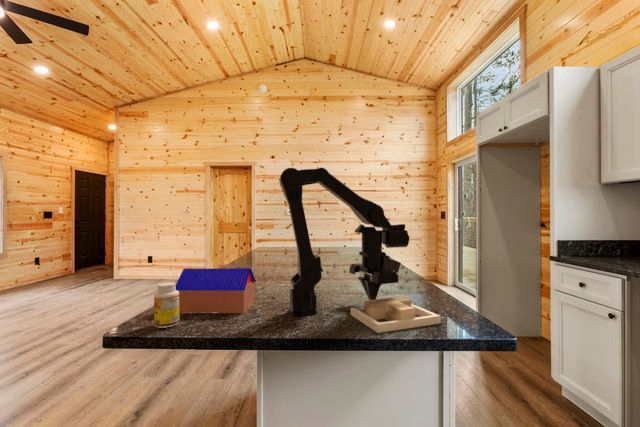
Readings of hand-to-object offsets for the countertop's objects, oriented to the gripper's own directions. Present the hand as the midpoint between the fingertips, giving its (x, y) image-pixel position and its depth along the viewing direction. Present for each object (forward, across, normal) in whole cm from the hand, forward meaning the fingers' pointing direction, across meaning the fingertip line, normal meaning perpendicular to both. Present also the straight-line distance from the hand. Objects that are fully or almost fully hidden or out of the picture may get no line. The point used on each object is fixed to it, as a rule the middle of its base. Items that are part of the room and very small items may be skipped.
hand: (372, 302), depth 92 cm
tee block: (+1, -11, 0) cm, 11 cm away
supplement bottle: (+2, +5, +54) cm, 54 cm away
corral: (+1, -11, 0) cm, 11 cm away
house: (+2, +17, +42) cm, 45 cm away
